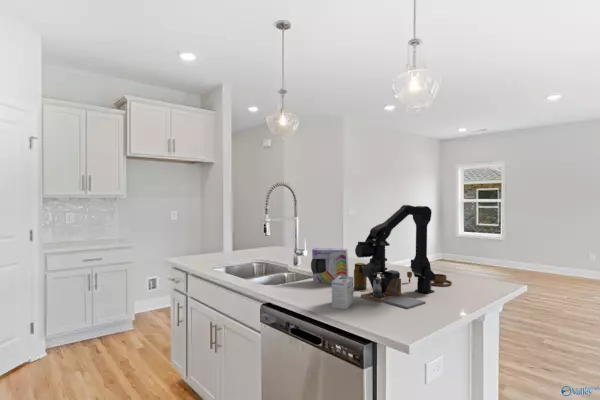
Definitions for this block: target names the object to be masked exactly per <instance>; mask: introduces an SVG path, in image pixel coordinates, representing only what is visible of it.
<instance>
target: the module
mask: <svg viewBox="0 0 600 400" xmlns="http://www.w3.org/2000/svg"><path fill="white" fill-rule="evenodd" d="M380 278H381V277H380V276H377V277H376V278H373V290H372V292H373V295H372V297H376V298H379V299H381V298H384V297H386V296H385V293H382V281H381V279H380Z"/></svg>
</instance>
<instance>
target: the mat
mask: <svg viewBox="0 0 600 400" xmlns="http://www.w3.org/2000/svg"><path fill="white" fill-rule="evenodd" d="M383 303H386V304H389V305H393V306H395V307H400V308H403V309H407V310H409V309H412V308H413V309H414V308H417V307H419V306H422V305H425V304H426V301H425V300H421V299H417V298H413V297H410V296H405V295H402V294H401V296H397V297H393V298H390V299H386V300H384V302H383Z"/></svg>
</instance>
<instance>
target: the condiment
mask: <svg viewBox="0 0 600 400" xmlns="http://www.w3.org/2000/svg"><path fill="white" fill-rule="evenodd" d="M366 264H367V263H364V262H356V263H354V270H353V290H356V291H358V292H367V291H373V289H372V288H370V287H367V284H368V283H367V278H368V277H367V276H365V275H364V273H359V268H360V266H365V265H366Z"/></svg>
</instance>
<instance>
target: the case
mask: <svg viewBox="0 0 600 400" xmlns="http://www.w3.org/2000/svg"><path fill="white" fill-rule="evenodd" d="M379 277H381V278H383V275H380V274H379ZM401 295H402V279H401V278H397V279H392V280H391V281H390V283H389V285H388V287H387V289H386V291H385V297H384V298H381V299H379V298H376V297H373V291H370V292H367V293H361V294H360V298H365V299H367V300H370V301H374V302H376V303H377V302H378V303H385V302H384V300H386V299H390V298H393V297H397V296H401Z"/></svg>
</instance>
